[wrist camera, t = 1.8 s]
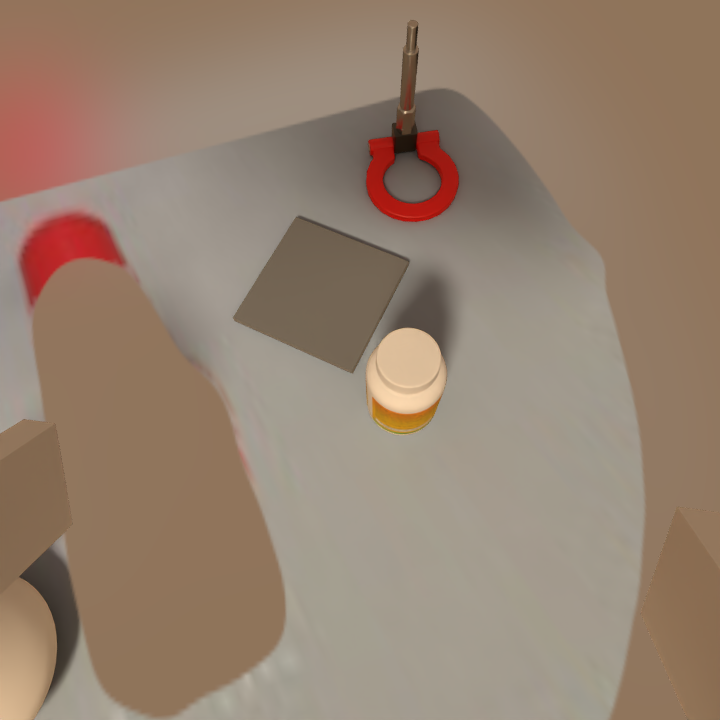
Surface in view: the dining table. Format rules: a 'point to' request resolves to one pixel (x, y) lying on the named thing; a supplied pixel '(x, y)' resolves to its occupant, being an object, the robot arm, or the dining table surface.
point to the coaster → (322, 293)
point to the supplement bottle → (405, 381)
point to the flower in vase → (25, 651)
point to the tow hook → (410, 149)
